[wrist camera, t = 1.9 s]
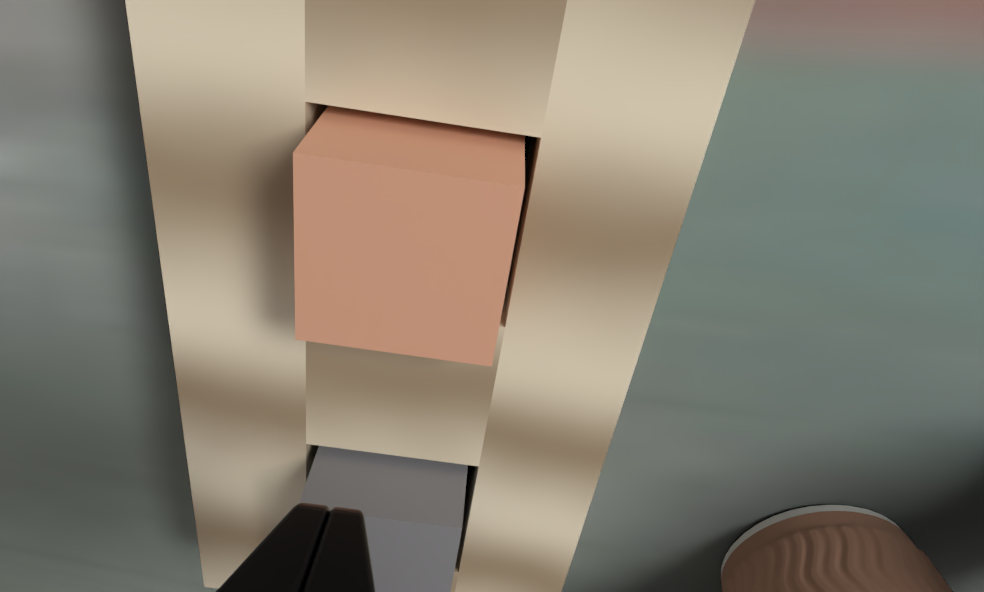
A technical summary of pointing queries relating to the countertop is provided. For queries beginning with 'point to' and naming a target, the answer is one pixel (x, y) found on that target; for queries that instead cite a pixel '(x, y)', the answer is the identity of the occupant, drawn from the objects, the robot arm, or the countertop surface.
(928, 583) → the coffee cup
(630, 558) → the countertop surface
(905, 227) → the countertop surface
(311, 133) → the terracotta key
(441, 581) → the charcoal key
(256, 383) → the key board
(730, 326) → the countertop surface
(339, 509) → the robot arm
